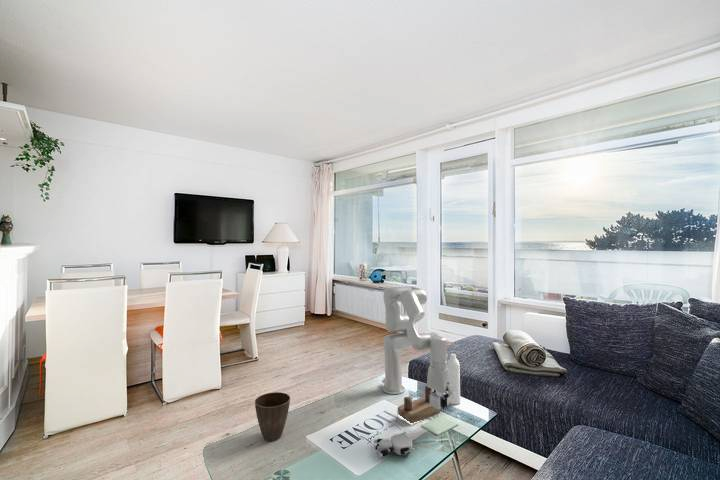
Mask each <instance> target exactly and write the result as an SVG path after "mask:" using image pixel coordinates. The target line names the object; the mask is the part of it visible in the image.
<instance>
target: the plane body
mask: <svg viewBox="0 0 720 480" xmlns="http://www.w3.org/2000/svg"><path fill="white" fill-rule="evenodd" d="M430 394H431V393H430V390H429V387H428V386H427V385H426V386H425V387H424V396H423V397H420V398H417V399H415V400H413V399H412V397H410V396H405V397H404V398H403V404H402V405H399V406H397V415H398V414H399V415H400V416H402V417H403V418H404V419H406V420H407V421H409V422H410V423H414V422H417V421H420V420H423V421H425V420H427V419H429V418H431V416H432V417H434V416H436V415H438V414H440V413H441V409H436V408H434V407H432V406H430ZM424 419H425V420H424ZM420 422H421V421H420Z"/></svg>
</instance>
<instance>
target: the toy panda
mask: <svg viewBox="0 0 720 480" xmlns="http://www.w3.org/2000/svg"><path fill="white" fill-rule="evenodd" d="M373 443H374V444H375V446H374V448H375V451H377V453H378V454H377V456H378V457H379V458H381V457H382V458H384V457H387V456H388V454H391V453H393V452H394V453H395V454H396V455H399V456H406V455H409V454H411V453H412V452H413V451H414V450H415V448H414V447H413V440H412V439H411V437H410V436H409V435H407V432H406V431H404V432H402V433H397V434H394V435H392V436H391V437H390V439H386V438H385V439H383V438H377V439H373Z"/></svg>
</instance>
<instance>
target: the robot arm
mask: <svg viewBox="0 0 720 480" xmlns="http://www.w3.org/2000/svg"><path fill="white" fill-rule="evenodd" d="M382 296H383V302H384V303H383V304H384V307H385V329H386V331H387V332H389V334H386V335H385V336H383V339H382V345H383V351H384V377H383V379H382V380H381V383H383V386H382V391H383V392H384V393H385V394H389V395H400V394H402V393H404V392H405V387H404V385H402V383H403V380H402V379H403V377H402V374H403V373H402V364H403V363H402V357H401V355H400V354H399V352H401V351H405V350H409V349H411V348H413V349H414V350H415V351H417V352H421V351H426V350H429V359H428V362H429V366H428V370H427V379H426V382H425V384H426V386H428V387H429V390H430V393H431V394H432V393H435V392H437V391H438V392H440V393H441V394H442V399H441V404H442V408H441V409H444V408H447V407H448V406H447V398H448V397H449V396H450V395H452V394H453V392H452V390H451V388H450V377H449V371H448V369H447V362H448V350H447V339H446V338H445V337H443V336H441V335H439V334H438V333H437V332H427V333H425V332H424V333H418V332H417V329H416V328H415V324H416V323H418V322H419V321H421V320H422V319H423V318H424V316H425V315H426V313H425V310H424V309H423V307H422V306H423V305H425V304H426V303H427V301H428V295H427V294H426V292H425V290H423V289H421V288H419V287H416V286H410V285H406V286H403V285H402V286H389V287H387V288H386V289H385V290H384V291H383V295H382ZM399 303H401V305H402V306H403V308H404V311H405V313H402V314H401V306H400V304H399ZM399 332H400V333H399ZM390 333H391V334H390ZM447 391H448V392H447ZM444 393H445V395H444Z"/></svg>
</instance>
